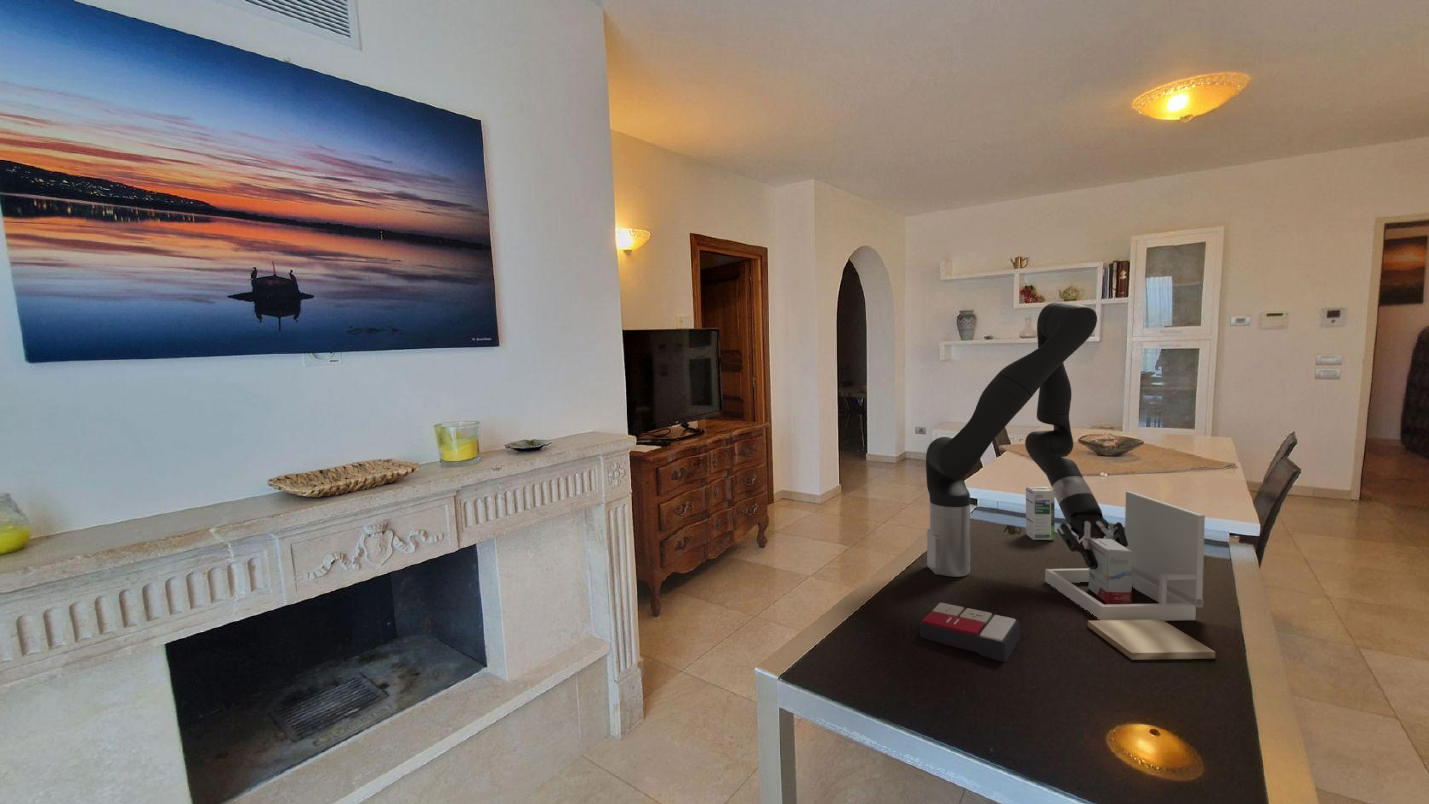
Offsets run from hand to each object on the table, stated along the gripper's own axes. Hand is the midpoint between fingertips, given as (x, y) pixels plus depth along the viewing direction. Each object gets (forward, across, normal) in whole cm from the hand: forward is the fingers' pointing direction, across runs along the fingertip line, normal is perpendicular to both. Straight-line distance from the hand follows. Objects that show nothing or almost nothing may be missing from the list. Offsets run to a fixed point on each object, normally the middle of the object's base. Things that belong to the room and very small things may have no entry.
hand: (1108, 567), depth 121 cm
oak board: (+18, -6, -10) cm, 22 cm away
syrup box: (-24, +7, +33) cm, 41 cm away
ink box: (+5, 0, +4) cm, 6 cm away
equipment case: (+6, 0, +3) cm, 7 cm away
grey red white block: (+17, -37, -7) cm, 42 cm away
